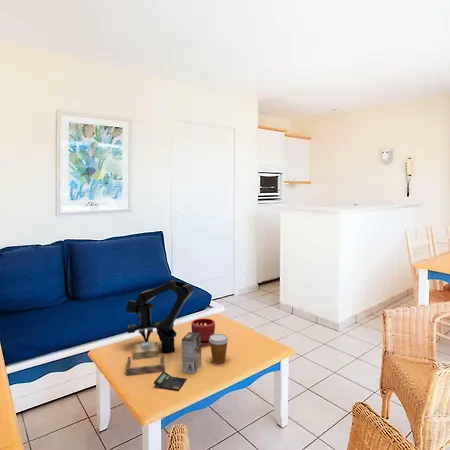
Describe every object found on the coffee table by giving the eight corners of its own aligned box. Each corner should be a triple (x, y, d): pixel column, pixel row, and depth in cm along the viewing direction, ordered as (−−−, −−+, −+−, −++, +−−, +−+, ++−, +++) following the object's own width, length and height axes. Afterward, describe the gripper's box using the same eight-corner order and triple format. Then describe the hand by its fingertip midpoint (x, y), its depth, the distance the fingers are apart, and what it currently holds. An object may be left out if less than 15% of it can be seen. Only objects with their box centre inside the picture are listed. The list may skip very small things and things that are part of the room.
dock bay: (163, 358, 178) (163, 353, 178) (164, 371, 166) (164, 365, 165) (128, 362, 175) (127, 356, 174) (126, 375, 162) (126, 369, 162)
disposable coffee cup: (230, 357, 179) (230, 334, 178) (224, 366, 170) (224, 342, 169) (213, 354, 182) (213, 332, 181) (206, 363, 173) (206, 339, 172)
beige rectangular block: (157, 349, 190) (157, 342, 190) (158, 357, 180) (158, 350, 180) (134, 351, 188) (134, 344, 187) (134, 360, 178) (133, 352, 177)
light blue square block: (149, 345, 186) (149, 341, 186) (150, 348, 182) (150, 344, 182) (141, 346, 185) (141, 342, 184) (142, 349, 181) (142, 346, 181)
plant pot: (219, 343, 196) (219, 322, 194) (199, 349, 188) (198, 327, 187) (207, 335, 206) (207, 315, 205) (187, 341, 199) (187, 320, 198)
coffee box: (189, 363, 174) (188, 331, 172) (201, 364, 172) (201, 332, 170) (181, 372, 165) (181, 339, 163) (194, 374, 163) (194, 340, 162)
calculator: (178, 391, 149) (178, 385, 149) (153, 388, 152) (153, 381, 152) (186, 380, 158) (186, 374, 158) (163, 377, 161) (162, 370, 161)
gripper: (162, 308, 200) (163, 334, 202) (128, 311, 196) (129, 338, 198) (163, 315, 189) (163, 343, 191) (127, 318, 185) (128, 346, 187)
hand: (146, 342), depth 192 cm, fingers closed
